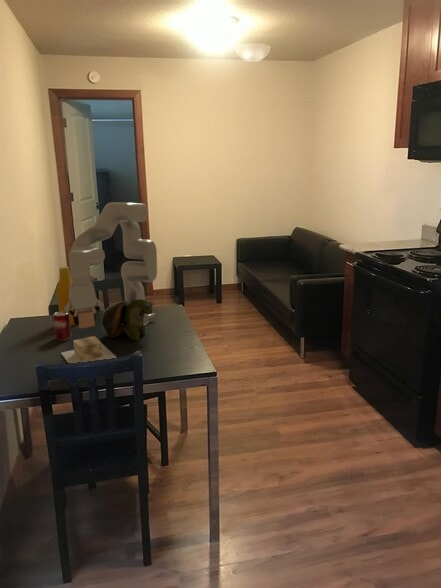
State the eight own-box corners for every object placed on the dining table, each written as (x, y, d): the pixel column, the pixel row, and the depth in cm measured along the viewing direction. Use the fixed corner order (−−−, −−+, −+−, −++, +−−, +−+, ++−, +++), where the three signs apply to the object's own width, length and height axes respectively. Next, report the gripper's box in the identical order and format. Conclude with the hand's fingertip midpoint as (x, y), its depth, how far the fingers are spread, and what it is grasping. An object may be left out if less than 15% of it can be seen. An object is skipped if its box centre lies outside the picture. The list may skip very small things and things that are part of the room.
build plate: (102, 345, 211) (102, 343, 211) (116, 358, 196) (116, 357, 196) (61, 354, 202) (61, 352, 202) (73, 369, 187) (72, 367, 187)
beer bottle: (56, 324, 239) (49, 268, 231) (70, 319, 246) (64, 264, 238) (69, 327, 234) (62, 270, 226) (83, 322, 242) (77, 266, 234)
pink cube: (90, 321, 199) (89, 308, 198) (94, 325, 194) (93, 311, 193) (76, 324, 196) (74, 310, 194) (80, 328, 191) (78, 314, 190)
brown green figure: (118, 339, 231) (165, 328, 225) (105, 350, 216) (154, 338, 210) (105, 303, 228) (153, 290, 222) (91, 311, 213) (141, 298, 207)
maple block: (95, 349, 205) (94, 336, 203) (102, 356, 198) (101, 342, 196) (74, 353, 200) (73, 340, 199) (80, 360, 193) (79, 347, 191)
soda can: (67, 341, 216) (64, 316, 213) (52, 340, 218) (49, 315, 215) (74, 335, 223) (72, 311, 220) (60, 334, 225) (57, 310, 221)
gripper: (99, 276, 198) (102, 317, 202) (56, 281, 189) (61, 324, 194) (105, 279, 192) (108, 322, 196) (61, 285, 183) (66, 330, 188)
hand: (85, 323), depth 195 cm, fingers closed on pink cube, 6 cm apart
